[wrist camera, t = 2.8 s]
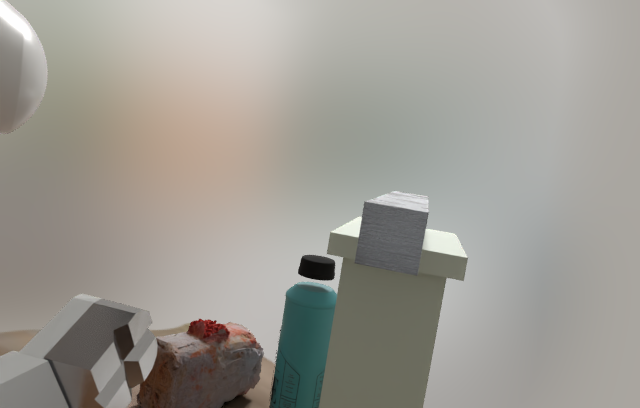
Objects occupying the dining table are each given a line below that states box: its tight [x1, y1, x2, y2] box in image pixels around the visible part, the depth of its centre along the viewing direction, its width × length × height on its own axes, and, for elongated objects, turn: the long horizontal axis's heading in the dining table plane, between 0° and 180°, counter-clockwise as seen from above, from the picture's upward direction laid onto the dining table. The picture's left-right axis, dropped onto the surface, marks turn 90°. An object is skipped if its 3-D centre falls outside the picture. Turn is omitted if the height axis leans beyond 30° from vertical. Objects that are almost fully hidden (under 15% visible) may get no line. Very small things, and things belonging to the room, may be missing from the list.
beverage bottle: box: [269, 255, 337, 408], centre depth 56 cm, size 6×7×20 cm
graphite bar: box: [355, 191, 429, 276], centre depth 34 cm, size 22×3×3 cm, turn 167°
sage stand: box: [319, 217, 468, 408], centre depth 40 cm, size 14×9×26 cm, turn 167°
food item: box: [137, 319, 264, 408], centre depth 59 cm, size 14×8×10 cm, turn 142°
